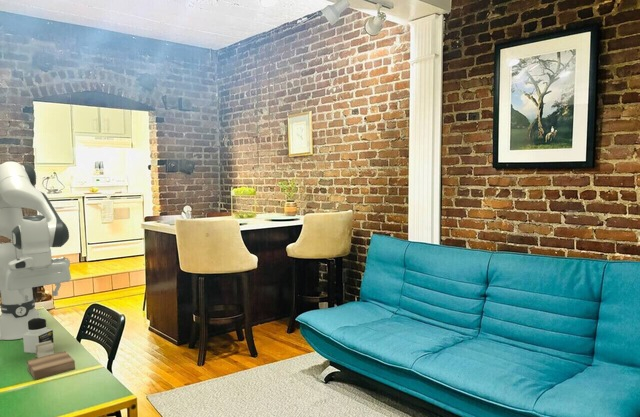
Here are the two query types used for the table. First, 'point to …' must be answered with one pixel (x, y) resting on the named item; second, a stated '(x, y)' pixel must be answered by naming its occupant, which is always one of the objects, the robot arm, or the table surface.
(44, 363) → the walnut base
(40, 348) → the ash cube
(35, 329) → the medicine bottle
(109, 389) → the table surface
